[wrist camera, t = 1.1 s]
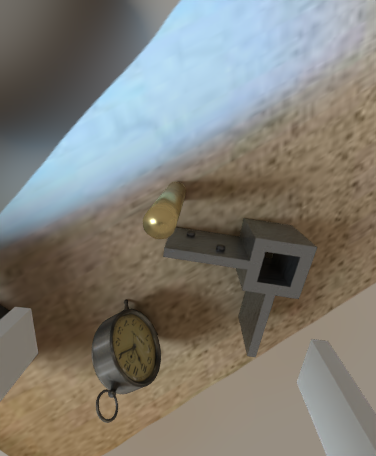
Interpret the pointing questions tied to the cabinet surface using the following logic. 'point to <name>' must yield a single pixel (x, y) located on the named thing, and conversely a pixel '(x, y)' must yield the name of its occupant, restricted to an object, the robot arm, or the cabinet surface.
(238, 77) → the cabinet surface
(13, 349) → the robot arm
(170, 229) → the hinge pin
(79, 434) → the cabinet surface
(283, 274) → the hinge leaves
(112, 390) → the alarm clock
